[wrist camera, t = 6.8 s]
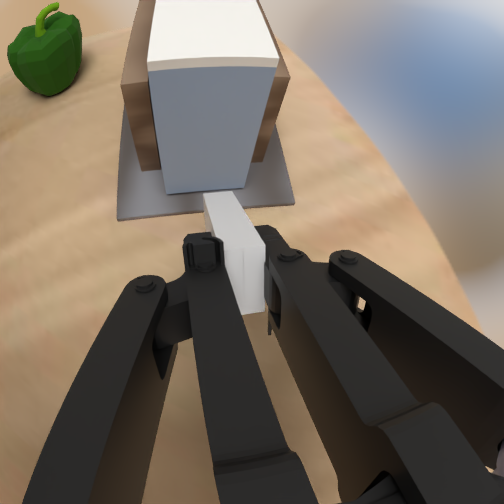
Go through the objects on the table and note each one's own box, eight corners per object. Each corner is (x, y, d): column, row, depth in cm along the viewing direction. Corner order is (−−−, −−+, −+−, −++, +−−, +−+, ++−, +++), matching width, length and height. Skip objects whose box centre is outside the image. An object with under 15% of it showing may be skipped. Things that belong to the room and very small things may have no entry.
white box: (166, 194, 23) (146, 61, 11) (164, 102, 26) (159, -17, 14) (243, 187, 24) (279, 58, 13) (228, 98, 27) (247, -18, 15)
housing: (118, 221, 23) (77, 142, 13) (130, 71, 28) (120, -5, 19) (293, 205, 26) (340, 126, 16) (257, 64, 31) (274, -10, 21)
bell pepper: (28, 118, 25) (-6, 51, 15) (25, 79, 26) (0, 20, 17) (97, 84, 27) (78, 9, 18) (85, 50, 29) (71, -13, 19)
